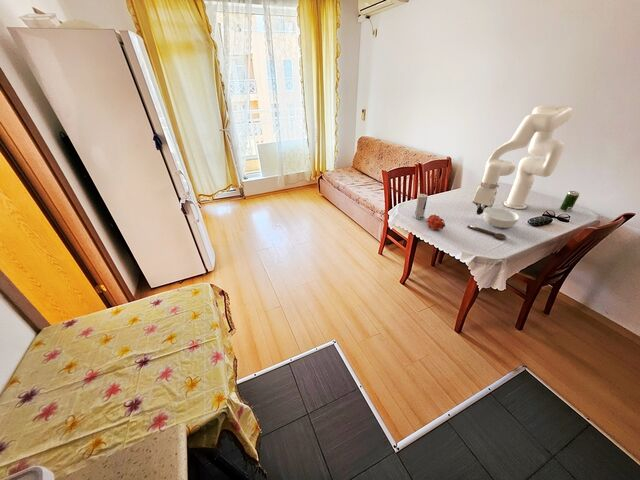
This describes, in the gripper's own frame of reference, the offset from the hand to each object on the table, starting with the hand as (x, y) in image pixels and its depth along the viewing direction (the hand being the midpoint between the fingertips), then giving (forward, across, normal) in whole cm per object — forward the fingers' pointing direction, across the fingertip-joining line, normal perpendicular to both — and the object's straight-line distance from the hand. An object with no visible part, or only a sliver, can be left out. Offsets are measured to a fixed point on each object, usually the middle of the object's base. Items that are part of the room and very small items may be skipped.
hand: (479, 213), depth 153 cm
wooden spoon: (+4, -10, +14) cm, 18 cm away
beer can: (+3, -33, -48) cm, 59 cm away
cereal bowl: (+4, -11, -1) cm, 12 cm away
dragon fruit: (+4, +12, +28) cm, 31 cm away
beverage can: (+4, +26, +22) cm, 35 cm away
